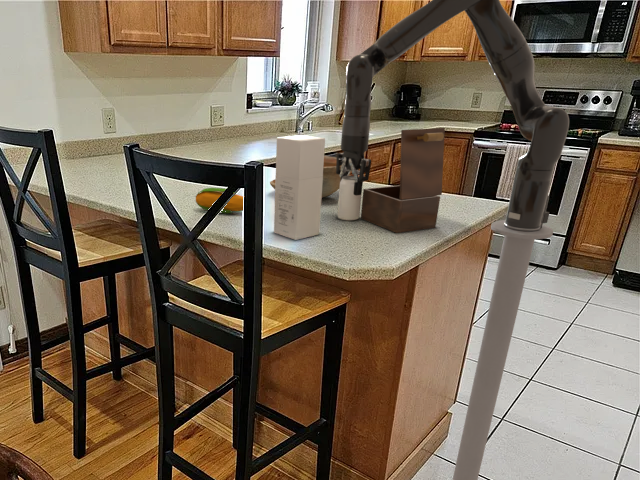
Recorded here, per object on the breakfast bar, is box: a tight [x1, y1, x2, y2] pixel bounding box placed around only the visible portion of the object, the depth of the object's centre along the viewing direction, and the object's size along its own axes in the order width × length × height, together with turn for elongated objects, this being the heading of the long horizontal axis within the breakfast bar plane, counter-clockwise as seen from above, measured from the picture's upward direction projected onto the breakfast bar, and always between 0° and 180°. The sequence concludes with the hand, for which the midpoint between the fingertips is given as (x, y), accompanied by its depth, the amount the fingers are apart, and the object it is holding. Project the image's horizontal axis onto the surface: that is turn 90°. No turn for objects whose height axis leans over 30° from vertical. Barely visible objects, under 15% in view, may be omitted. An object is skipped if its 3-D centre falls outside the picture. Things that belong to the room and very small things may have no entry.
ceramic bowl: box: [269, 155, 352, 199], centre depth 181 cm, size 30×27×15 cm
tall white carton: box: [273, 134, 326, 241], centre depth 137 cm, size 9×9×25 cm
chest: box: [360, 184, 441, 234], centre depth 150 cm, size 17×14×9 cm
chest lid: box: [399, 127, 446, 199], centre depth 136 cm, size 18×14×5 cm
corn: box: [195, 187, 244, 214], centre depth 161 cm, size 7×8×20 cm
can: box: [337, 175, 363, 222], centre depth 154 cm, size 6×6×12 cm
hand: (350, 192), depth 153 cm, fingers closed on can, 6 cm apart
